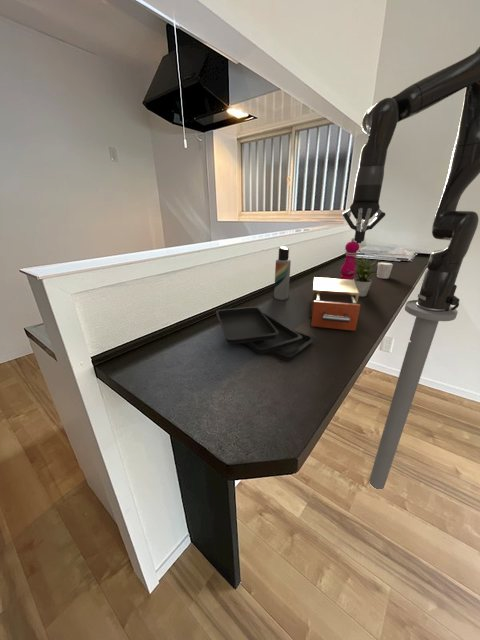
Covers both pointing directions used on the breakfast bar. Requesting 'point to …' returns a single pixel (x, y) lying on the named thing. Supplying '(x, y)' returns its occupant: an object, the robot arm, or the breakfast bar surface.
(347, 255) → the pepper mill
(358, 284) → the house plant
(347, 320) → the wooden drawer unit
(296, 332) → the tray
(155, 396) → the breakfast bar surface
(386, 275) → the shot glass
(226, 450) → the breakfast bar surface
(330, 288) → the small drawer box
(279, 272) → the lotion bottle
